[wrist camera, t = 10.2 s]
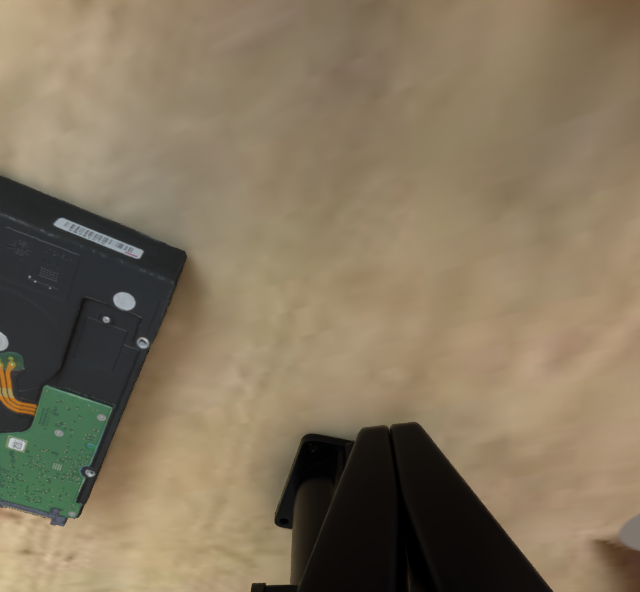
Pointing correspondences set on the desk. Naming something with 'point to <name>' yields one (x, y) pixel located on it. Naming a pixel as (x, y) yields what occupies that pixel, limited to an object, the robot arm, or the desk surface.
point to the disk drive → (69, 342)
